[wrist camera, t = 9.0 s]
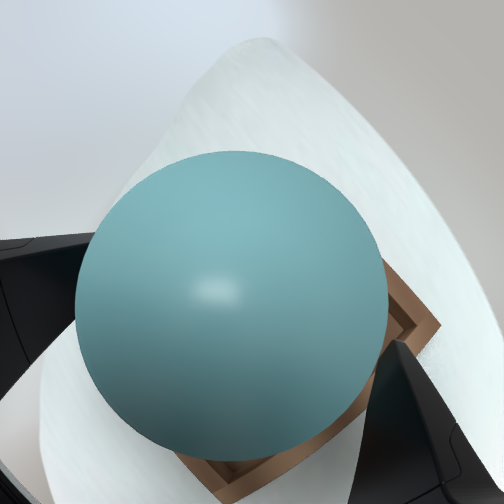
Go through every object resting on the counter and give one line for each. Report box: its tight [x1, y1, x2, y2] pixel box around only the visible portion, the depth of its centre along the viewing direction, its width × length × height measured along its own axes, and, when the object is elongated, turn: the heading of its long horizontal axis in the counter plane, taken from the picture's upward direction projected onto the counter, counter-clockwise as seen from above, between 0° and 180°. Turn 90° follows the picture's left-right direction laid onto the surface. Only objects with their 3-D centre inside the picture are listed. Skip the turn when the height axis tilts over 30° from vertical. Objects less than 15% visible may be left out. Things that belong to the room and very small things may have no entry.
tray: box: [173, 257, 441, 504], centre depth 16 cm, size 16×14×3 cm
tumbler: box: [75, 151, 389, 461], centre depth 11 cm, size 6×6×12 cm
